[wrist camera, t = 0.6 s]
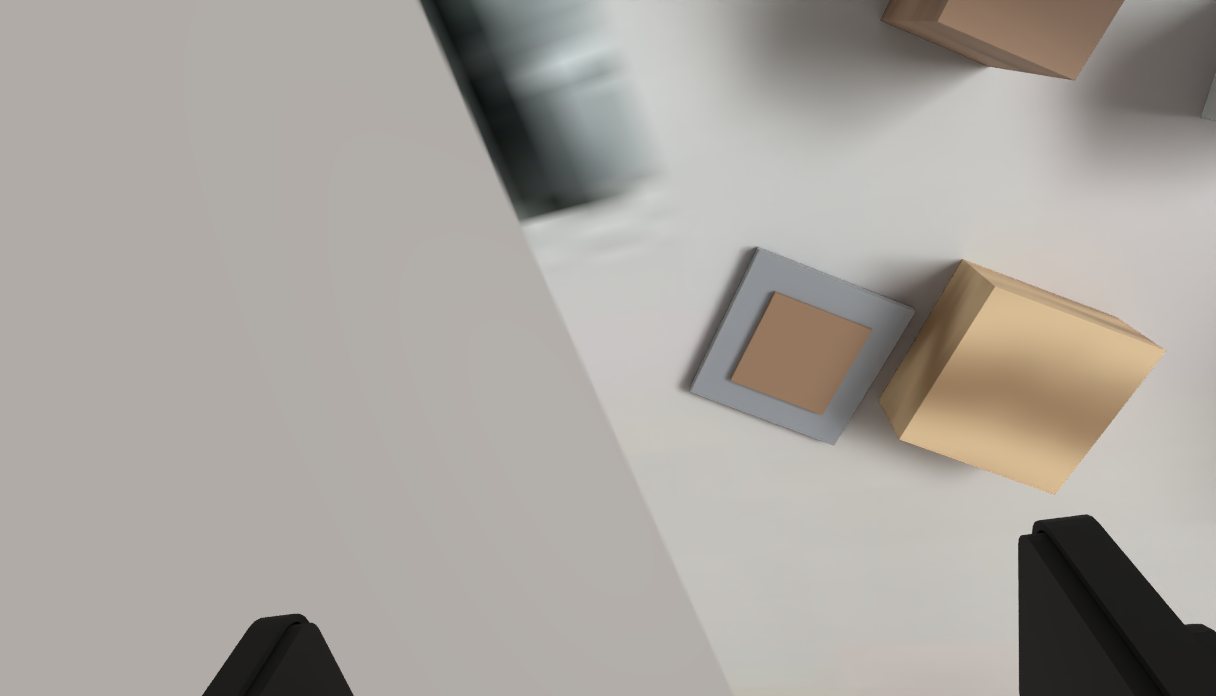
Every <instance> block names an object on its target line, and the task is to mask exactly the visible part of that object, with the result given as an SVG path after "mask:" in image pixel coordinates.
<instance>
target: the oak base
mask: <svg viewBox="0 0 1216 696" xmlns="http://www.w3.org/2000/svg"><path fill="white" fill-rule="evenodd" d="M1165 352H1166V350H1165V349H1163V348H1162V347H1160V346H1159V345H1157V344H1156V343H1154V342H1153V341H1151V340H1150V339H1148V338H1147V337H1145V336H1144V335H1142V334H1141V333H1139V332H1138V331H1136V330H1135V329H1133V328H1132V327H1130V326H1129V325H1128V324H1126V323H1125V322H1123V321H1122V320H1120V319H1119V318H1117V317H1114V316H1112V315H1109V314H1107V313H1104V312H1101V311H1099V310H1096V309H1093V308H1091V307H1088V306H1085V305H1083V304H1080V303H1077V302H1075V301H1072V300H1069V299H1067V298H1064V297H1061V296H1059V295H1056V294H1054V293H1051V292H1048V291H1046V290H1043V289H1040V288H1038V287H1035V286H1032V285H1030V284H1027V283H1024V282H1022V281H1019V280H1016V279H1014V278H1011V277H1008V276H1006V275H1003V274H1000V273H998V272H995V271H993V270H990V269H987V268H985V267H982V266H979V265H977V264H974V263H971V262H969V261H966V260H962V261H961V263H960V265H959V266H958V268H957V270H956V271H955V273H954V275H953V276H952V278H951V280H950V281H949V283H948V285H947V287H946V288H945V290H944V292H943V293H942V295H941V297H940V298H939V300H938V302H937V303H936V305H935V307H934V308H933V310H932V312H931V313H930V315H929V317H928V318H927V320H926V322H925V323H924V325H923V327H922V328H921V330H920V332H919V333H918V335H917V337H916V338H915V340H914V342H913V343H912V345H911V347H910V348H909V350H908V352H907V353H906V355H905V357H904V359H903V360H902V362H901V364H900V365H899V367H898V369H897V370H896V372H895V374H894V375H893V377H892V379H891V380H890V382H889V384H888V385H887V387H886V389H885V390H884V392H883V394H882V395H881V397H880V399H879V400H878V401H879V403H880V405H881V407H882V408H883V410H884V412H885V414H886V416H887V418H888V420H889V421H890V423H891V425H892V427H893V429H894V431H895V433H896V434H897V436H898V438H899V440H902V441H905V442H908V443H911V444H913V445H916V446H919V447H922V448H925V449H927V450H930V451H933V452H936V453H939V454H941V455H944V456H947V457H950V458H953V459H956V460H958V461H961V462H964V463H967V464H970V465H972V466H975V467H978V468H981V469H984V470H986V471H989V472H992V473H995V474H998V475H1000V476H1003V477H1006V478H1009V479H1012V480H1015V481H1017V482H1020V483H1023V484H1026V485H1029V486H1031V487H1034V488H1037V489H1040V490H1043V491H1045V492H1048V493H1051V494H1054V495H1055V494H1056V493H1057V491H1058V490H1059V489H1060V488H1061V486H1062V485H1063V484H1064V482H1065V481H1066V480H1067V479H1068V477H1069V476H1070V475H1071V473H1072V472H1073V471H1074V469H1075V468H1076V467H1077V466H1078V464H1079V463H1080V462H1081V460H1082V459H1083V458H1084V457H1085V455H1086V454H1087V453H1088V451H1089V450H1090V449H1091V447H1092V446H1093V445H1094V444H1095V442H1096V441H1097V440H1098V438H1099V437H1100V436H1101V434H1102V433H1103V432H1104V431H1105V429H1106V428H1107V427H1108V425H1109V424H1110V423H1111V422H1112V420H1113V419H1114V418H1115V416H1116V415H1117V414H1118V412H1119V411H1120V410H1121V409H1122V407H1123V406H1124V405H1125V403H1126V402H1127V401H1128V400H1129V398H1130V397H1131V396H1132V394H1133V393H1134V392H1135V390H1136V389H1137V388H1138V387H1139V385H1140V384H1141V383H1142V381H1143V380H1144V379H1145V378H1146V376H1147V375H1148V374H1149V372H1150V371H1151V370H1152V368H1153V367H1154V366H1155V365H1156V363H1157V362H1158V361H1159V359H1160V358H1161V357H1162V356H1163V354H1164V353H1165Z"/></svg>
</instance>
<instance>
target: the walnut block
mask: <svg viewBox="0 0 1216 696" xmlns="http://www.w3.org/2000/svg"><path fill="white" fill-rule="evenodd" d="M1123 2H1124V0H890V2H889V4H888V6H887V8H886V10H885V12H884V14H883V16H882V18H881V21H884V22H886V23H888V24H891V25H893V26H895V27H898V28H900V29H902V30H905V31H907V32H909V33H912V34H914V35H916V36H919V37H921V38H923V39H926V40H928V41H931V42H933V43H935V44H938V45H940V46H942V47H945V48H947V49H949V50H952V51H954V52H956V53H959V54H961V55H963V56H966V57H968V58H971V59H973V60H975V61H978V62H980V63H982V64H985V65H987V66H989V67H995V68H1001V69H1007V70H1013V71H1020V72H1026V73H1032V74H1038V75H1044V76H1051V77H1057V78H1063V79H1069V80H1075V79H1076V78H1077V76H1078V74H1079V73H1080V71H1081V70H1082V68H1083V66H1084V65H1085V63H1086V61H1087V60H1088V58H1089V57H1090V55H1091V53H1092V52H1093V50H1094V49H1095V47H1096V45H1097V44H1098V42H1099V41H1100V39H1101V37H1102V36H1103V34H1104V33H1105V31H1106V29H1107V28H1108V26H1109V24H1110V23H1111V21H1112V20H1113V18H1114V16H1115V15H1116V13H1117V12H1118V10H1119V8H1120V7H1121V5H1122V4H1123Z"/></svg>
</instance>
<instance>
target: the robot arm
mask: <svg viewBox="0 0 1216 696" xmlns="http://www.w3.org/2000/svg"><path fill="white" fill-rule="evenodd" d="M1018 579H1019V694H1020V696H1216V632H1215V631H1214V630H1212V629H1210V628H1208V627H1207V626H1205V625H1203V624H1187V625H1184V624H1183V623H1182V621H1181V620H1180V619H1179V618H1178V617H1177V615H1176V614H1175V613H1174V612H1173V611H1172V609H1171V608H1170V607H1169V606H1168V605H1167V604H1166V602H1165V601H1164V600H1163V599H1162V598H1161V596H1160V595H1159V594H1158V593H1157V592H1156V590H1155V589H1154V588H1153V587H1152V586H1151V584H1150V583H1149V582H1148V581H1147V580H1146V578H1145V577H1144V576H1143V575H1142V574H1141V573H1140V571H1139V570H1138V569H1137V568H1136V567H1135V565H1134V564H1133V563H1132V562H1131V561H1130V559H1129V558H1128V557H1127V556H1126V555H1125V553H1124V552H1123V551H1122V550H1121V549H1120V548H1119V546H1118V545H1117V544H1116V543H1115V542H1114V540H1113V539H1112V538H1111V537H1110V536H1109V534H1108V533H1107V532H1106V531H1105V530H1104V528H1103V527H1102V526H1101V525H1100V524H1099V522H1097V521H1096V520H1095V519H1094V518H1093V517H1092V516H1090V515H1087V514H1086V515H1078V516H1070V517H1062V518H1054V519H1046V520H1039V521H1036V522H1035V523H1034V525H1033V529H1032V534H1028V535H1022V536H1020V538H1019V543H1018ZM202 696H353V694H352V692H351V690H350V688H349V686H348V684H347V682H346V680H345V678H344V676H343V674H342V672H341V670H340V668H339V667H338V665H337V663H336V661H335V659H334V657H333V655H332V653H331V651H330V649H329V647H328V645H327V644H326V641H325V640H324V638H323V636H322V634H321V632H320V630H319V628H318V627H317V626H316V625H315V624H314V623H309V621H308V620H307V619H306V617H305V616H303V615H301V614H289V615H282V616H274V617H265V618H260V619H258V620H256V621H255V622H254V623H253V624H252V625H251V626H250V627H249V628H248V630H247V631H246V633H245V634H244V636H243V637H242V639H241V640H240V641H239V643H238V644H237V646H236V647H235V649H234V650H233V652H232V653H231V655H230V656H229V658H228V659H227V660H226V662H225V663H224V665H223V666H222V668H221V669H220V671H219V672H218V673H217V675H216V676H215V678H214V679H213V681H212V682H211V683H210V685H209V686H208V688H207V689H206V691H205V692H204V694H203V695H202Z"/></svg>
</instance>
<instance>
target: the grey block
mask: <svg viewBox="0 0 1216 696" xmlns="http://www.w3.org/2000/svg"><path fill="white" fill-rule="evenodd" d="M1200 118H1205V119H1210V120H1216V73H1215V76H1214V79H1213V82H1212V85H1211V88H1210V91H1209V94H1208V97H1207V100H1206V103H1205V106H1204V109H1203V111H1202V114H1201V117H1200Z"/></svg>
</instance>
